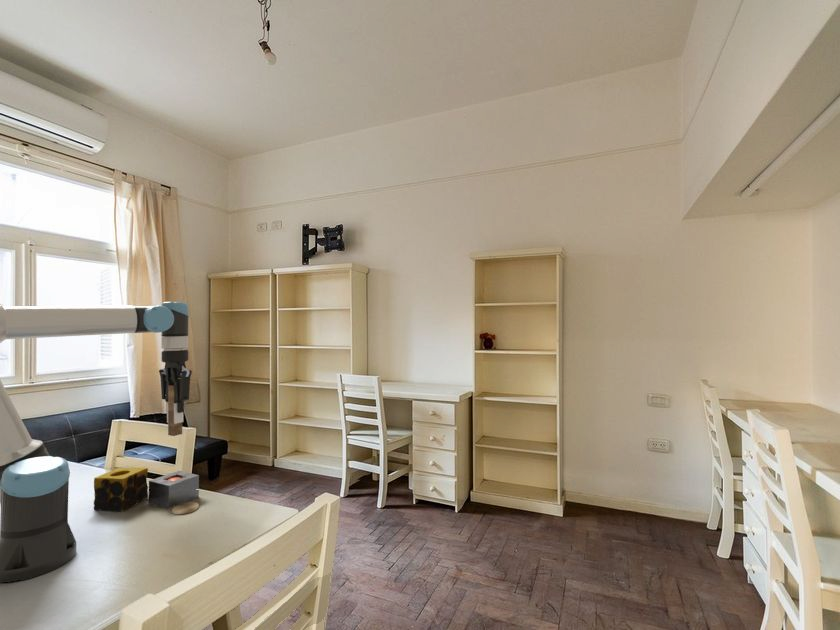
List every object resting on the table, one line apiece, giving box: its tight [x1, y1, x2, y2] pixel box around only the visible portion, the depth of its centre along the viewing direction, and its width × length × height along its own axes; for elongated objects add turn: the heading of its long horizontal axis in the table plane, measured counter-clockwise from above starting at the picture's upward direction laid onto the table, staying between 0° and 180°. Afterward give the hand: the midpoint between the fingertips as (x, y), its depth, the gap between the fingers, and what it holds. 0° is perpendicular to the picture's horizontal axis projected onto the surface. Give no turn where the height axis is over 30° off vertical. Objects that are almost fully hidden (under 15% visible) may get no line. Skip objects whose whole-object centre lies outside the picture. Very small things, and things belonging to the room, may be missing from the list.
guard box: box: [148, 470, 200, 510], centre depth 131 cm, size 10×10×7 cm
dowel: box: [167, 385, 183, 437], centre depth 132 cm, size 3×3×16 cm
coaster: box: [171, 502, 199, 516], centre depth 124 cm, size 7×7×1 cm
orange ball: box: [167, 477, 181, 482], centre depth 131 cm, size 4×4×4 cm
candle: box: [93, 466, 149, 512], centre depth 128 cm, size 10×10×10 cm
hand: (175, 422), depth 132 cm, fingers closed on dowel, 3 cm apart
